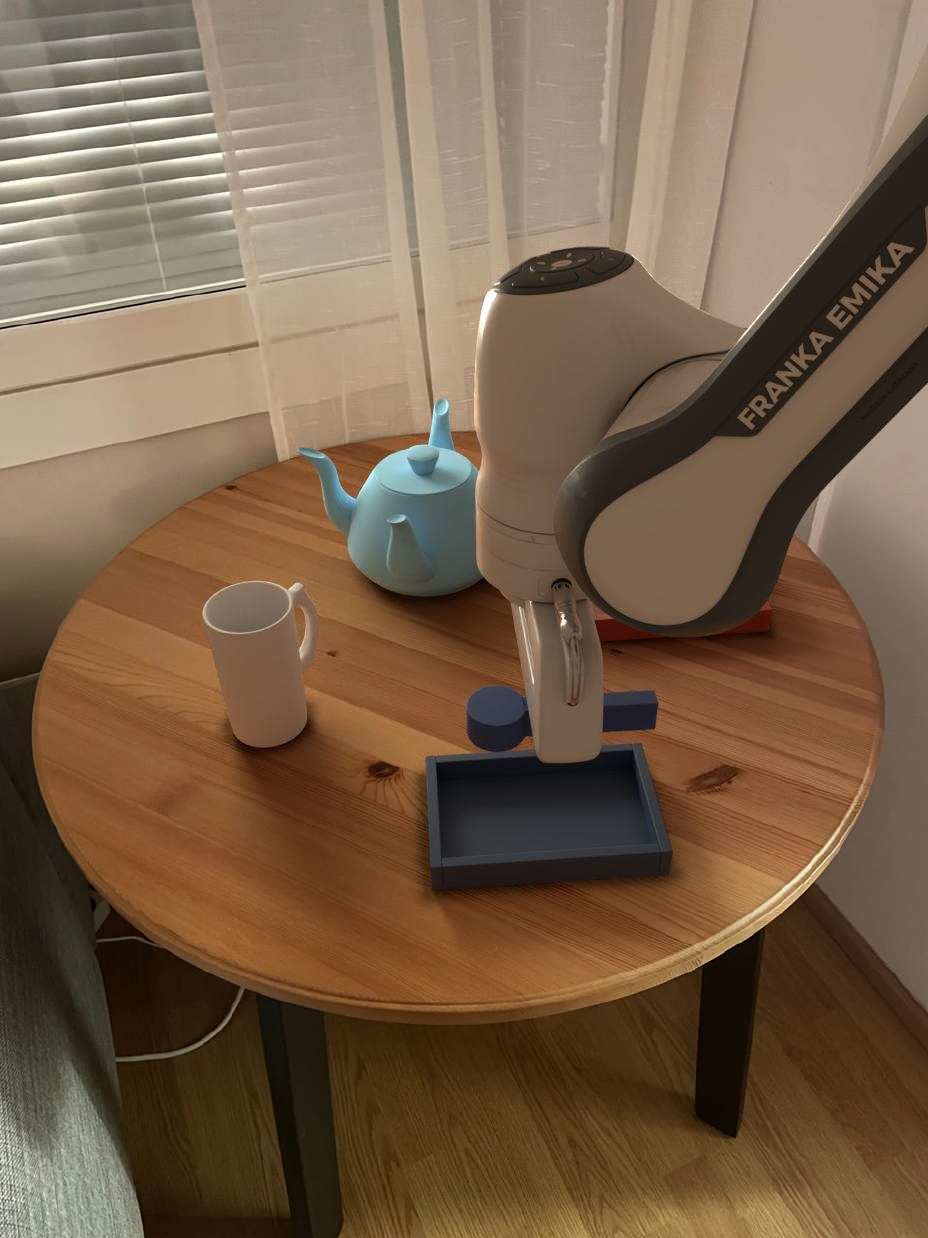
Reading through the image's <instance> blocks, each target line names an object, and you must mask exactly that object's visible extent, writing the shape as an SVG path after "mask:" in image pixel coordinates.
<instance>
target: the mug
mask: <svg viewBox="0 0 928 1238" xmlns="http://www.w3.org/2000/svg"><path fill="white" fill-rule="evenodd" d="M298 607H299V608H300V609H301V610H302V612H303V615H304V618H305V631H304V637H303V640H302V642H301V645H300V646H299V637H298V629H297V622H296V614H295V609H296V608H298ZM202 619H203V621H204V627H205V631H206V636H207V639H208V644H209V647H210V651H211V655H212V659H213V662H214V666H215V669H216V674H217V679H218V681H219V685H220V689H221V693H222V697H223V701H224V704H225V709H226V713H227V716H228V717H227V718H228V720H229V723H230V727H231V730H232V732H233V735H234V736H235V737H236V739H237V740H238V741H240V742H241V743H243V744H245V745H247V746H250V747H254V748H273V747H278V746H282V745H284V744H286V743H288V742H291V741H292V740H293V739H295V738H296V737H297V736H299V735H300V734H301V733H302V732H303V730H304V728H305V727H306V725H307V722H308V708H307V698H306V691H305V690H306V689H305V683H304V677H303V674H304V673H305V672H306V671H307V670H309V669H310V668H311V667H313V665H314V664H315V659H316V651H317V644H318V637H319V636H318V635H319V615H318V610H317V607H316V604H315V603H314V601H313V599H312V598H311V595H309V594H308V592H307V591H306V587H305V585H303V584H302V583H300V582H295V583H294V584H293V585H292V586H291V587H289V588H288V589H286V587H283V586H282V585H280V584H278V583H274V582H271V581H266V580H265V581H264V580H250V581H243V582H238V583H235V584H231V585H228V586H226V587H224V588H222V589H220V590H219V591H217V592H215V593H214V594H213V595H211V597H209V599H207V601H206V602H205V604H204V605H203V609H202Z"/></svg>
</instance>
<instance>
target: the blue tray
mask: <svg viewBox="0 0 928 1238" xmlns="http://www.w3.org/2000/svg"><path fill="white" fill-rule="evenodd" d="M424 759H425V760H424V761H425V781H426V800H427V822H428V823H427V824H428V845H429V864H430V865H429V866H430V881H431V883H430V884H431V890H432V892H433V891H448V890H450V891H451V890H463V889H477V888H491V887H492V888H493V887H506V886H508V887H509V886H522V885H524V886H525V885H537V884H551V883H553V884H554V883H565V882H567V883H568V882H581V881H595V880H610V879H624V878H625V879H626V878H641V877H653V876H667V875H668V876H669V875H670V874H671V873H670V872H671V866H672V859H673V848H672V844H671V840H670V837H669V833H668V830H667V827H666V823H665V820H664V816H663V812H662V810H661V805H660V803H659V799H658V795H657V791H656V788H655V785H654V782H653V778H652V774H651V771H650V768H649V764H648V760H647V757H646V754H645V750H644V747H643V743H642V742H631V743H630V742H629V743H613V744H602V745H601V750H600V753H599V755H598V756H597V757H596V758H594V759H592V760H589V761H582V762H574V763H544V762H541V761H540V760H539V759H538V757H537V754H536V750H535V748H533V749H518V750H508V751H503V752H490V751H486V752H484V751H483V752H470V753H469V752H467V753H454V754H453V753H452V754H439V755H426V756H425V757H424Z"/></svg>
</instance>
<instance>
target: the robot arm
mask: <svg viewBox="0 0 928 1238" xmlns="http://www.w3.org/2000/svg"><path fill="white" fill-rule="evenodd" d="M870 163H871V164H870V165H869V167H868V169H867V171H866V172H865V174H864V175H863V178H862V179H861V181H860V182H859V184H858V186H857V188H856V189H855V191H854V192H853V194H852V196H851V197H850V199H849V200H848V202H847V204H846V205H845V207H844V208H843V210H842V211H841V212H840V214H839V215H838V217H837V218H836V220H835V221H834V222H833V224H832V225H831V227H830V228H829V229H828V231H827V232H826V233H825V235H824V236H823V238H821V240H820V241H819V242H818V244H817V245H816V246H815V248H813V250H812V251H811V252H810V254H809V255H807V256H806V258H805V259H804V261H803V262H802V263H801V264H800V265H799V267H798V268H797V269H796V270H795V271H794V273H793V274H792V275H791V277H789V278H788V279H787V281H786V282H785V283H784V284H783V286H782V287H781V289H780V290H778V292H777V293H776V294H775V296H774V297H773V298H772V299H771V300H770V302H769V303H768V304H767V305H766V306H765V307H764V309H763V310H762V311H761V312H760V313H759V315H758V316H757V317H756V318H755V319H754V321H753V322H752V323H751V325H749V327H741V326H739V325H736V324H733V323H731V322H728V321H727V320H723V319H721V318H719V317H716V316H714V315H712V314H710V313H708V312H706V311H704V310H702V309H700V308H698V307H696V306H694V305H692V304H691V303H689V302H687V301H685V300H684V299H682V298H681V297H679V296H677V295H676V294H674V293H673V292H671V291H670V290H668V289H667V288H666V287H664V286H663V285H662V284H660V282H658V280H656V278H654V277H653V275H651V273H650V272H649V271H648V270H647V268H646V267H645V265H643V263H642V262H641V260H639V259H638V258H637V257H635V256H634V255H633V254H631V253H629V252H627V251H624V250H621V249H615V248H612V247H609V246H600V245H598V246H597V245H591V246H590V245H585V246H583V245H582V246H573V247H565V248H560V249H555V250H550V251H548V252H546V253H542V254H539V255H536V256H530V257H529V258H527V259H525V260H523V261H521V262H520V263H519V264H517V265H515V266H514V267H512V268H511V269H510V270H508V271H507V272H506V273H504V274H503V275H502V276H500V277H499V278H498V279H497V280H496V281H495V282H494V284H493V285H492V286H491V287H490V289H488V290H487V292H486V295H485V297H484V300H483V304H482V308H481V312H480V317H479V322H478V323H479V324H478V330H477V338H476V348H475V362H474V364H475V365H474V381H473V382H474V383H473V385H474V388H473V419H474V420H473V421H474V429H475V434H476V437H477V440H478V442H479V445H480V452H481V463H480V468H479V470H478V471H479V473H478V477H477V481H476V487H475V503H476V561H477V566H478V568H479V570H480V572H481V574H482V575H483V578H484V579H485V581H487V582H488V583H489V584H490V585H491V586H492V587H494V588H495V589H497V590H499V592H500V593H501V595H502V596H503V597H504V598H505V599H506V600H507V601H508V602H510V606H511V607H510V608H511V613H512V619H513V625H514V632H515V637H516V644H517V649H518V655H519V663H520V666H521V673H522V679H523V685H524V691H525V697H527V703H528V709H529V715H530V721H531V727H532V733H533V736H532V740H533V744H534V749H535V750H536V754H537V757H538V759H539V760H540V761H541V762H544V763H574V762H582V761H589V760H592V759H594V758H596V757H597V756H598V755H599V753H600V750H601V745H603V744H602V743H603V732H602V728H603V701H604V693H605V674H604V660H603V659H604V657H603V652H602V651H603V650H602V645H601V641H600V640H599V636H598V632H597V629H596V625H595V621H594V618H593V614H592V610H591V606H590V603H591V602H593V603H594V604H595V605H596V606H597V607H598V608H599V609H601V610H602V611H603V612H604V613H606V614H607V615H609V616H610V617H612V618H613V619H615V620H617V621H619V622H621V623H623V624H625V625H627V626H629V627H632V628H634V629H637V630H640V631H643V632H647V633H651V634H656V635H662V636H671V637H670V638H699V637H708V636H713V635H714V634H716V635H720V634H719V633H722V632H725V631H728V630H731V629H733V628H735V627H737V626H739V625H741V624H743V623H745V622H746V621H748V620H749V619H750V618H752V617H753V616H754V615H755V614H756V613H757V612H758V611H759V610H760V609H761V608H762V607H763V606H764V604H765V603H766V601H767V600H768V601H769V598H770V597H771V595H772V593H773V591H774V590H775V587H776V585H777V584H778V580H779V578H780V575H781V572H782V569H783V566H784V563H785V560H786V556H787V554H788V551H789V548H790V545H791V543H792V540H793V537H794V534H795V532H796V530H797V528H798V526H799V525H800V522H801V520H802V519H803V517H804V516H805V514H806V512H807V511H808V510H809V508H810V506H811V505H812V504H813V503H814V501H815V500H816V499H817V498H818V497H819V495H820V494H821V493H822V492H823V490H825V488H826V487H827V486H828V485H829V484H830V483H831V482H832V481H833V480H834V479H835V478H836V477H837V476H838V475H839V474H840V473H841V472H842V471H843V470H844V469H845V467H847V466H848V465H849V464H850V462H851V461H852V460H854V459H855V457H857V455H859V454H860V452H861V451H863V449H864V448H865V447H866V446H867V445H868V444H869V443H870V442H871V441H872V440H874V439H875V437H876V436H877V435H878V434H880V432H881V431H883V429H884V428H885V427H886V426H887V425H888V424H889V423H890V422H891V421H892V420H893V419H894V418H895V417H896V416H897V415H898V414H899V413H900V412H901V411H902V410H903V409H904V408H905V407H906V406H907V405H908V404H909V403H910V402H911V401H912V400H913V399H914V398H915V397H916V396H917V395H918V394H919V393H920V392H921V390H923V389H924V388H925V386H927V385H928V43H927V44H926V46H925V48H924V50H923V53H922V55H921V57H920V61H918V64H917V67H916V69H915V71H914V74H913V76H912V79H911V80H910V83H909V85H908V87H907V90H906V92H905V94H904V96H903V98H902V101H901V103H900V105H899V107H898V109H897V112H896V114H895V116H894V118H893V121H892V122H891V124H890V127H889V128H888V130H887V133H886V135H885V137H884V139H883V141H882V142H881V144H880V146H879V148H878V150H877V152H876V154H875V156H874V158H873V159H872V161H871V162H870Z"/></svg>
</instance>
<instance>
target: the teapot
mask: <svg viewBox="0 0 928 1238" xmlns="http://www.w3.org/2000/svg"><path fill="white" fill-rule="evenodd" d="M450 425H451V423H450V404H449V400H448V399H446V398H439V399H438V400H436V402H435V404H434V406H433V411H432V421H431V427H430V433H429V439H428V444H417V445H413V446H410V447H409V448H406V449H402V450H398V451H395V452H394V453H391V454H389V455H387V456H386V457H384V458H383V459H382V460H381V461H379V462H378V464H376V466H375V467H374V469H373V470H372V471H371V473H370V474H369V476H368V478H367V479H366V481H365V482H364V484H363V486H362V488H361V489H360V491H359V493H358V495H357V497H356V498H354V497H352V496H351V495H349V494H348V493H347V492H346V491H345V490H344V488H343V487H342V485H341V482H340V479H339V475H338V471H337V468H336V466H335V464H334V462H333V461H332V459H330V457H329V456H328V455H326V454H325V453H323V452H322V451H319V450H317V449H314V448H309V447H303V446H302V447H297V448H296V451H297V453H299V454H300V455H301V456H302V457H303V458H305V459H306V460H307V461H308V462H310V464H311V465H312V466H313V468H314V469H315V470H316V472H317V475H318V477H319V481H320V485H321V492H322V500H323V506H324V510H325V512H326V516H327V518H328V520H329V521H330V523H331V525H333V526H334V528H335V529H336V530H337V531H338V532H340V533H341V534H343V535H344V536H345V537H346V538H347V540H346V541H347V550H348V554H349V557H350V560H351V561H352V563H353V565H354V566H355V567H356V569H357V570H358V571H359V572H360V573H361V574H362V575H364V576H365V577H366V578H368V579H369V580H370V581H371V582H373V583H375V584H377V585H379V586H380V587H381V588H383V589H384V590H387V591H390V592H392V593H396V594H400V595H405V596H411V597H426V598H427V597H437V596H438V597H439V596H446V595H450V594H454V593H457V592H460V591H463V590H465V589H468V588H469V587H471V586H474V585H475V584H477V583H479V581H481V580H482V579H483V578H484V577H483V575H482V574H481V572H480V570H479V568H478V566H477V561H476V503H475V487H476V481H477V477H478V473H479V470H478V468H477V467H476V466H475V465H474V464H473V463H472V462H471V460H469V459H468V458H467V457H466V456H464V455H463V454H461V453H459V452H457V451H456V448H455V445H454V440H453V437H452V433H451V426H450Z"/></svg>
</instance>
